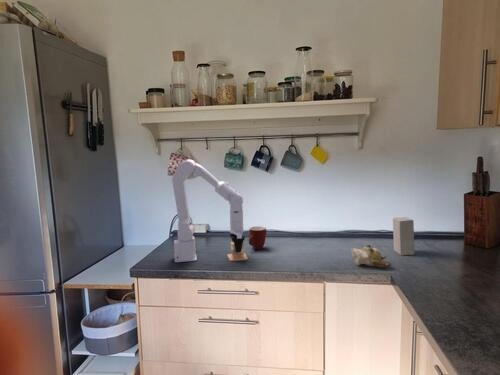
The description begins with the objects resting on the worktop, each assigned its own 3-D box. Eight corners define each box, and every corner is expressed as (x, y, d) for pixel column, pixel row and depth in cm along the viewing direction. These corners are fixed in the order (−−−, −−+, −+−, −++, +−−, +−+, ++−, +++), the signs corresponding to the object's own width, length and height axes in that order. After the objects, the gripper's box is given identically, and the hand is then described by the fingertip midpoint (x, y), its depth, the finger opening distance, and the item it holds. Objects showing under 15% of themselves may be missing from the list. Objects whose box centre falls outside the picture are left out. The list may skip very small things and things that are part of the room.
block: (232, 255, 157) (232, 244, 156) (231, 252, 162) (230, 241, 161) (244, 255, 158) (243, 243, 157) (241, 251, 163) (241, 241, 162)
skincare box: (414, 255, 158) (416, 220, 156) (398, 255, 158) (399, 220, 156) (406, 249, 167) (408, 216, 165) (391, 250, 167) (392, 216, 165)
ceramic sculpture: (350, 240, 153) (387, 243, 150) (348, 259, 154) (385, 263, 152) (353, 247, 142) (392, 251, 140) (351, 268, 144) (390, 272, 141)
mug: (258, 253, 165) (258, 232, 164) (243, 251, 169) (243, 230, 168) (269, 247, 174) (269, 227, 173) (254, 245, 178) (254, 225, 177)
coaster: (229, 261, 155) (229, 259, 155) (227, 255, 163) (227, 254, 163) (248, 259, 157) (247, 258, 157) (244, 254, 165) (244, 252, 165)
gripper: (248, 223, 152) (249, 254, 153) (242, 216, 166) (243, 245, 168) (232, 224, 150) (232, 255, 152) (227, 217, 164) (228, 246, 166)
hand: (237, 250), depth 160 cm, fingers closed on block, 5 cm apart
